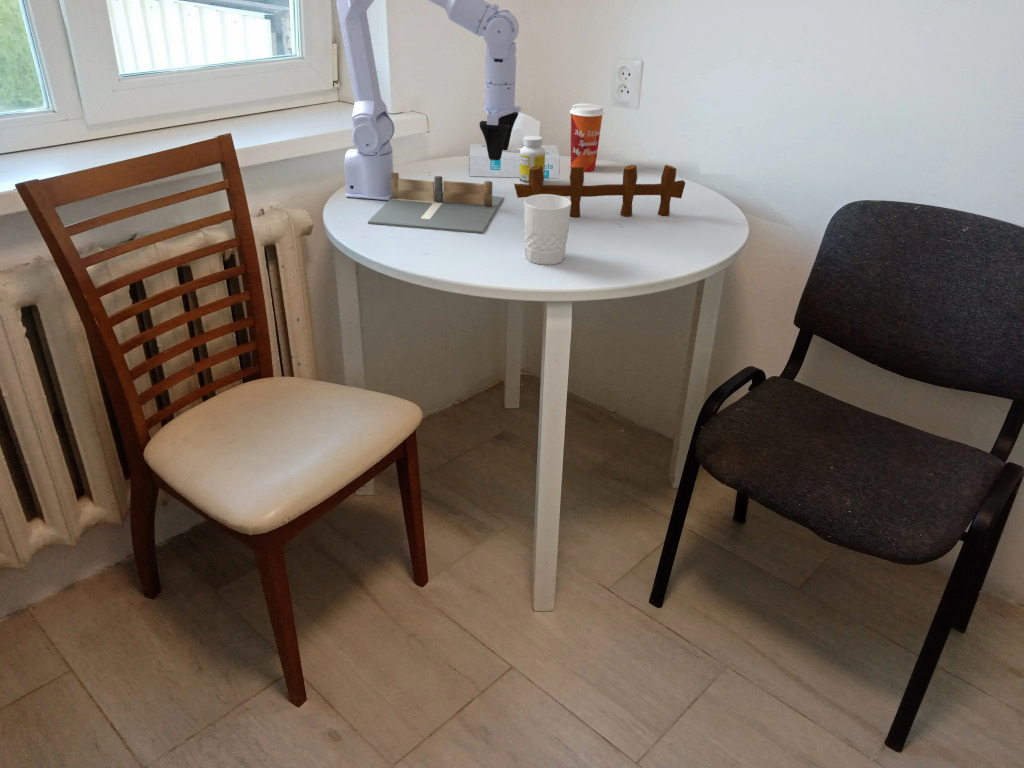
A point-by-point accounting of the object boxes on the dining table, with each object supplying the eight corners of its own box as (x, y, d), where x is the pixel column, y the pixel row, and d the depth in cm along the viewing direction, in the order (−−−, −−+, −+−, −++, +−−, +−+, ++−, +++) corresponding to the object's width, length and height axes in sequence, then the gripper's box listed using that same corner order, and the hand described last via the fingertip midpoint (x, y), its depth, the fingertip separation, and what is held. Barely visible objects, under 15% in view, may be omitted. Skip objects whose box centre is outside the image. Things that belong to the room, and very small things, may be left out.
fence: (514, 219, 154) (515, 168, 148) (512, 214, 156) (514, 164, 151) (681, 217, 157) (688, 167, 152) (677, 212, 160) (684, 163, 155)
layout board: (368, 223, 149) (367, 221, 149) (400, 190, 167) (400, 188, 167) (482, 233, 146) (482, 231, 146) (503, 198, 164) (503, 196, 164)
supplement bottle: (544, 180, 176) (546, 135, 171) (542, 187, 171) (545, 141, 166) (520, 178, 176) (521, 133, 171) (518, 185, 172) (519, 140, 167)
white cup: (520, 249, 140) (521, 194, 135) (564, 249, 141) (567, 194, 135) (524, 266, 133) (526, 209, 128) (570, 266, 134) (574, 209, 129)
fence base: (390, 199, 160) (389, 174, 158) (393, 196, 162) (392, 172, 159) (441, 203, 159) (441, 178, 156) (443, 200, 160) (443, 176, 158)
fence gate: (443, 202, 159) (442, 179, 156) (445, 200, 160) (444, 177, 158) (491, 206, 158) (491, 183, 155) (492, 204, 159) (493, 181, 157)
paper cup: (571, 174, 180) (576, 110, 173) (562, 164, 187) (565, 103, 180) (604, 172, 182) (609, 109, 175) (593, 163, 188) (598, 102, 181)
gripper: (514, 90, 143) (512, 166, 150) (527, 76, 155) (524, 146, 162) (476, 88, 144) (475, 163, 151) (491, 74, 156) (490, 144, 163)
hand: (498, 154), depth 156 cm, fingers open, 7 cm apart
